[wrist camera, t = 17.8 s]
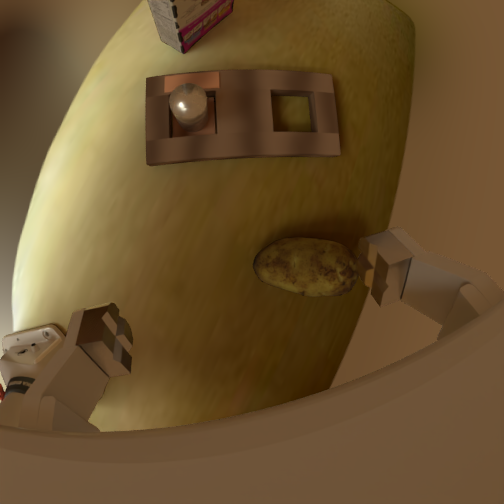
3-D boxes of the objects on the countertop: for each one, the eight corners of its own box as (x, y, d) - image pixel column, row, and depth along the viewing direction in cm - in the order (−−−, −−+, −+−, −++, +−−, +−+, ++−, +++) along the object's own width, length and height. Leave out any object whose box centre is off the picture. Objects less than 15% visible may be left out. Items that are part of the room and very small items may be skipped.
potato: (268, 214, 38) (282, 218, 31) (347, 247, 41) (375, 258, 33) (245, 271, 40) (254, 289, 32) (325, 298, 42) (348, 319, 34)
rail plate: (150, 166, 35) (146, 164, 32) (149, 84, 33) (146, 77, 30) (333, 157, 38) (341, 154, 35) (325, 80, 36) (332, 74, 33)
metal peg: (179, 134, 35) (169, 119, 27) (177, 106, 34) (168, 86, 26) (209, 130, 35) (207, 114, 27) (207, 102, 34) (205, 80, 26)
